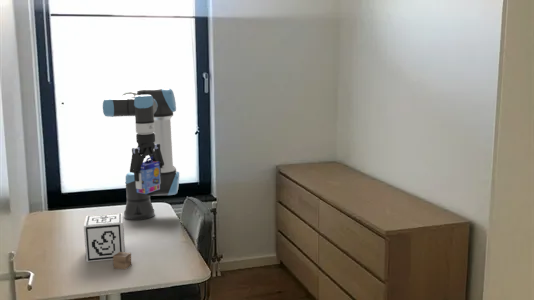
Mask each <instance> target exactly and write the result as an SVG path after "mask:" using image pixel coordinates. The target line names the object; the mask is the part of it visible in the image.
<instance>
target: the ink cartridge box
mask: <svg viewBox="0 0 534 300" xmlns="http://www.w3.org/2000/svg"><path fill="white" fill-rule="evenodd" d="M152 158H153V157H150V156H149V157H146V160H145V161H143V164H142V165H141V169H140V172H139V173H141V180H142V189H136V190H137V193H142V194H148V193H151V192H154V191H157V190H160V163H159V161H152Z"/></svg>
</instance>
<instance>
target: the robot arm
mask: <svg viewBox="0 0 534 300" xmlns="http://www.w3.org/2000/svg"><path fill="white" fill-rule="evenodd" d="M174 94H175V93H174V91H173V89H171V88H168V87H151V88H150V87H149V88H137V89H133V90H130V91H127V92H125V93H123V94H122V95H121V96H120V97H117V98H105V99H104V100H103V101H102V113H103V115H104V116H105V117H107V118H109V117H110V118H111V117H112V118H113V117H115V118H116V117H135V118H134V119H135V133H136V144H137V147H136V148H135V147H132V148H131V153H132V154H131V161H130V167H129V172H128V173H126V175H125V191H126V194H125V195H126V204H125V209H124V213H123V218H124V219H127V220H131V221H132V220H133V221H140V220H147V219H150V218H153V217H154V216H155V209H154V206H153V204H152V200H151V196H153V197H154V196H173V195H174V196H175V195H177V194H178V190H179V184H180V171H177V167H176V166H174V164H173V163H174V161H173V145H172V144H173V143H172V126H171V123H172V122H171V119H172V117H173V116H174V113H175V112H177V103H176V97H175V95H174ZM147 156H149V158H150V157H153V158H152V161H159V163H160V190H157V191H154V192H151V193H148V194H142V193H137V190H136V189H142V180H141V173H139V172H140V169H141V165H142V164H143V162H145V161H144V160H145V159H146V158H147Z"/></svg>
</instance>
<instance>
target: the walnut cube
mask: <svg viewBox="0 0 534 300" xmlns="http://www.w3.org/2000/svg"><path fill="white" fill-rule="evenodd" d="M112 260H113V263H112V264H113V269H118V270H126V269H128V268H129V267H130V266H132V253H131V252H127V251H125V252H119V253H117V254H116V255H114V256H113V259H112Z"/></svg>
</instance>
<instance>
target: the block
mask: <svg viewBox="0 0 534 300" xmlns="http://www.w3.org/2000/svg"><path fill="white" fill-rule="evenodd" d="M83 232H84V245H85V246H84V247H85V260H86V263H89V262H99V261H109V260H111V261H112V260H113V256H114V255H116V254H117V253H119V252H126V245H125V228H124V213H123V212H117V213H106V214H105V213H104V214H93V215H86V216H85V219H84V223H83Z"/></svg>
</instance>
